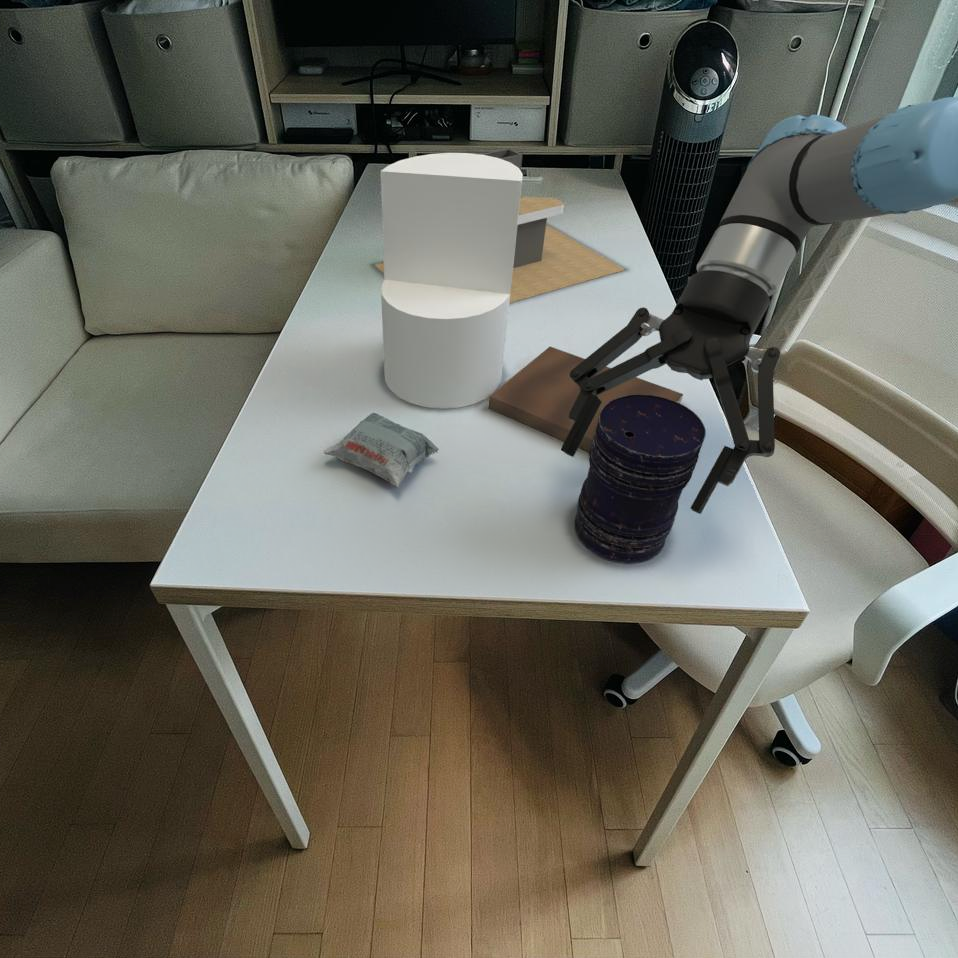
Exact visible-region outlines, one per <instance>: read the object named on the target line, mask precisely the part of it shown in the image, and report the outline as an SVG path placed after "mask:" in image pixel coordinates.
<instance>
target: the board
mask: <svg viewBox="0 0 958 958" xmlns="http://www.w3.org/2000/svg"><path fill="white" fill-rule="evenodd" d="M585 359H586V358H585V357H584V358H583V357H581V356H578V355H576V354H572V353H570V352H567V351H564V350H561V349H559V348H556V347H553V346H548V347H547V348H546V349H545V350H544V351H542V352H541V353H540V354H539V355H538V356H537V357H535V358H534V359H533V360H531V361H530V362H529V363H528V364H527V365H526V366H524V367H523V368H522V369H520V370H519V371H518V372H517V373H516V374H514V375H513V376H512V377H511V378H510V379H508V380H507V381H506V382H505V383H503V385H501V386H500V387H498V388H497V390H496V391H495V392H494V393H493V394H491V395H490V396H489V397H488V407H487V408H488V409H490V410H492V411H494V412H496V413H498V414H501V415H503V416H505V417H509V418H510V419H512V420H515V421H517V422H519V423H522V424H524V425H526V426H528V427H531V428H533V429H536V430H538V431H540V432H542V433H545V434H547V435H549V436H552V437H554V438H556V439H559V440H561V441H563V442H565V440H566V438H567V436H568V434H569V432H570V430H571V428H572V426H573V424H574V422H573V421H571V420H570V419H569V413H570V411H571V409H572V407H573V405H574V403H575V401H576V399H577V397H578V395H579V393H580V387H579V386H578V385H577V384H576V383H575V382H574V381H573V380H572V379H571V377H570V372H571V370H572V369H574V368H575V367H576V366H577V365H579V364H580V363H581V362H582V361H584V360H585ZM611 368H612V367H609V366H606V367H605V368H604V369H602V370H601V371H600V372H599V373H597V374H596V375H598V374H600V373H602V372H604V371H606V370H609V369H611ZM596 375H595V376H596ZM627 395H653V396H659V397H663V398H667V399H670V400H673V401H675V402H678V403H680V404H681V402H682V400H683V397H684V393H682V392H679V391H676V390H673V389H670V388H668V387H666V386H661V385H659V384H658V383H657V384H656V383H654V382H650V381H649V380H645V379H643V378H640V377H638V376H637V377H635V378H632V379H630V380H628V381H626V382H624V383H622V384H620V385H618V386H616V387H614V388H612V389H610V390H607V391H605V392H603V393H601V394H599V395H597V397H598V398H599V399H600V401H601V402H602V403H601V404H600V406H599V408H598V410H597V412H596V414H595V416H594V418H593V420H592V422H591V424H590V426H589V427H588V429H587V431H586V433H585V435H584V437H583V439H582V441H581V443H580V445H579V447H578V448H579V449H581V450H584V451H586V452H588V453H589V452H590V449H591V445H592V440H593V436H594V433H595V430H596V427H597V424H598V419H599V415H600V412H601V410H602V408H603V407H604V406H605V405H606V404H607V403H608V402H610V401H612V400H614V399H616V398H619V397H623V396H627Z"/></svg>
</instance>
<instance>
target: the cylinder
mask: <svg viewBox="0 0 958 958" xmlns="http://www.w3.org/2000/svg"><path fill="white" fill-rule="evenodd" d="M480 154H481V153H479V154H478V153H469V152H442V153H439V152H438V153H429V154H422V155H417V156H412V157H408V158H404V159H400V160H397V161H395V162H393V163H391V164H389V165H387V166H386V167H384V168H383V169H381V170H380V192H381V193H380V194H381V195H380V196H381V197H380V198H381V199H380V200H381V222H382V223H381V224H382V252H383V253H382V254H383V255H382V256H383V262H384V273H383V282H382V284H381V285H380V296H381V297H380V299H381V322H382V325H381V326H382V347H383V348H382V349H383V373H384V374H383V375H384V382H385V384H386V386H387V387H388V389H389V391H391V392H392V393H393V394H394V395H395V396H396V397H398V398H399V399H401V400H403V401H405V402H407V403H409V404H411V405H415V406H420V407H422V408H423V407H424V408H428V409H439V410H440V409H441V410H445V409H446V410H447V409H460V408H464V407H467V406H472V405H475V404H477V403H479V402H482V401H484V400H486V399H489V396H491V395H492V394H493V393H494V392H495V391H497V390H498V389H499V386H500V385H501V383H502V377H503V369H504V368H503V367H504V357H505V347H506V341H507V340H506V338H507V330H508V329H507V328H508V321H509V311H510V303H509V302H510V292H511V282H512V273H513V263H514V254H515V244H516V235H517V225H518V215H519V206H520V197H522V196H521V195H522V187H523V186H522V185H523V176H524V174H523V172H522V170H521V171H520V169H519V168H518V167H517V166H515V165H513V164H512V163H510V162H508V161H505V160H502V159H499V158H496V157H491V156H486V155H480Z"/></svg>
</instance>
